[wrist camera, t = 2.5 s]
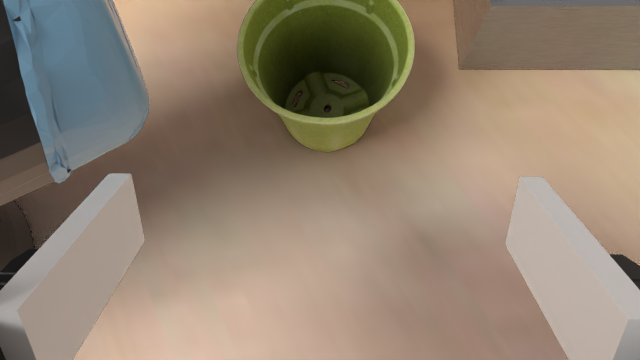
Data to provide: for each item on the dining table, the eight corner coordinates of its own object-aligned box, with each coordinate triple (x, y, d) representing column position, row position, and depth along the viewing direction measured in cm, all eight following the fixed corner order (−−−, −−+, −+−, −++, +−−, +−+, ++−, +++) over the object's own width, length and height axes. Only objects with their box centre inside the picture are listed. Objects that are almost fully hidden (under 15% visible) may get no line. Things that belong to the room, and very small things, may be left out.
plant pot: (366, 197, 32) (379, 149, 23) (237, 147, 33) (207, 86, 25) (412, 80, 34) (438, 0, 26) (291, 38, 35) (279, -51, 27)
